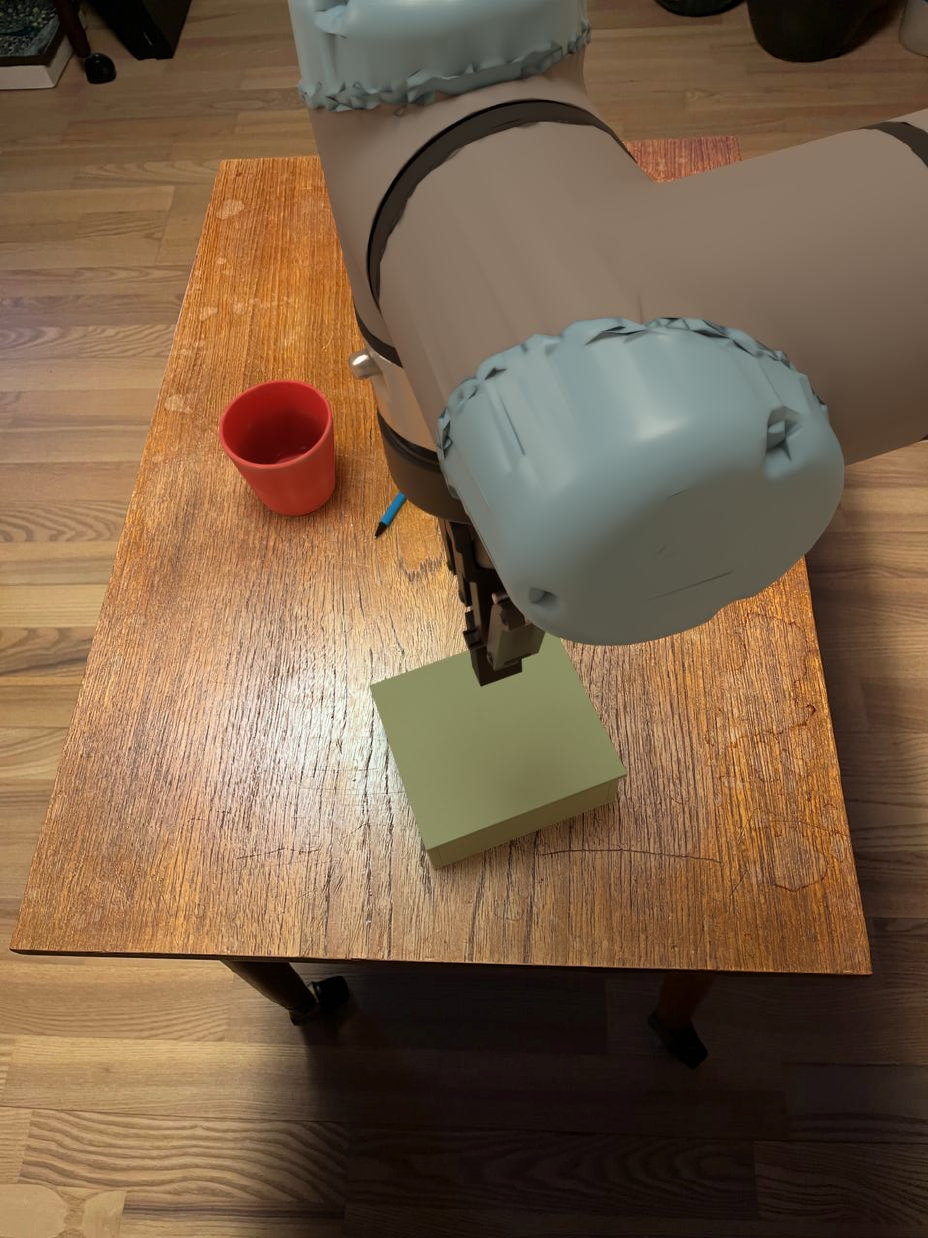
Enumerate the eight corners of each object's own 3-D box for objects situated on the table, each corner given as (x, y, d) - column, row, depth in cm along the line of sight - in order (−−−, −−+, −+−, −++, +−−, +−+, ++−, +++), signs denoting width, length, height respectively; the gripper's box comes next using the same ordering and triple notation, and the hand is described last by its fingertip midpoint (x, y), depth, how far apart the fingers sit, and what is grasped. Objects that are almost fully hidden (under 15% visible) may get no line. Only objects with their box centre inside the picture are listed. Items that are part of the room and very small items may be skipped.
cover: (627, 776, 66) (627, 773, 66) (426, 853, 65) (425, 850, 64) (551, 624, 74) (550, 620, 74) (370, 688, 72) (368, 685, 72)
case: (615, 800, 73) (621, 771, 67) (434, 870, 72) (424, 845, 66) (550, 662, 80) (550, 624, 74) (383, 722, 78) (370, 688, 72)
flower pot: (368, 459, 93) (351, 392, 85) (321, 542, 88) (298, 479, 80) (278, 434, 96) (253, 366, 87) (227, 513, 91) (196, 449, 83)
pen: (466, 406, 96) (465, 399, 95) (379, 542, 88) (377, 535, 87) (459, 404, 96) (458, 396, 95) (371, 539, 88) (369, 532, 87)
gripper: (332, 311, 37) (405, 604, 58) (434, 551, 31) (476, 786, 51) (501, 259, 38) (515, 566, 59) (635, 483, 32) (598, 741, 52)
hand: (497, 669), depth 55 cm, fingers closed
